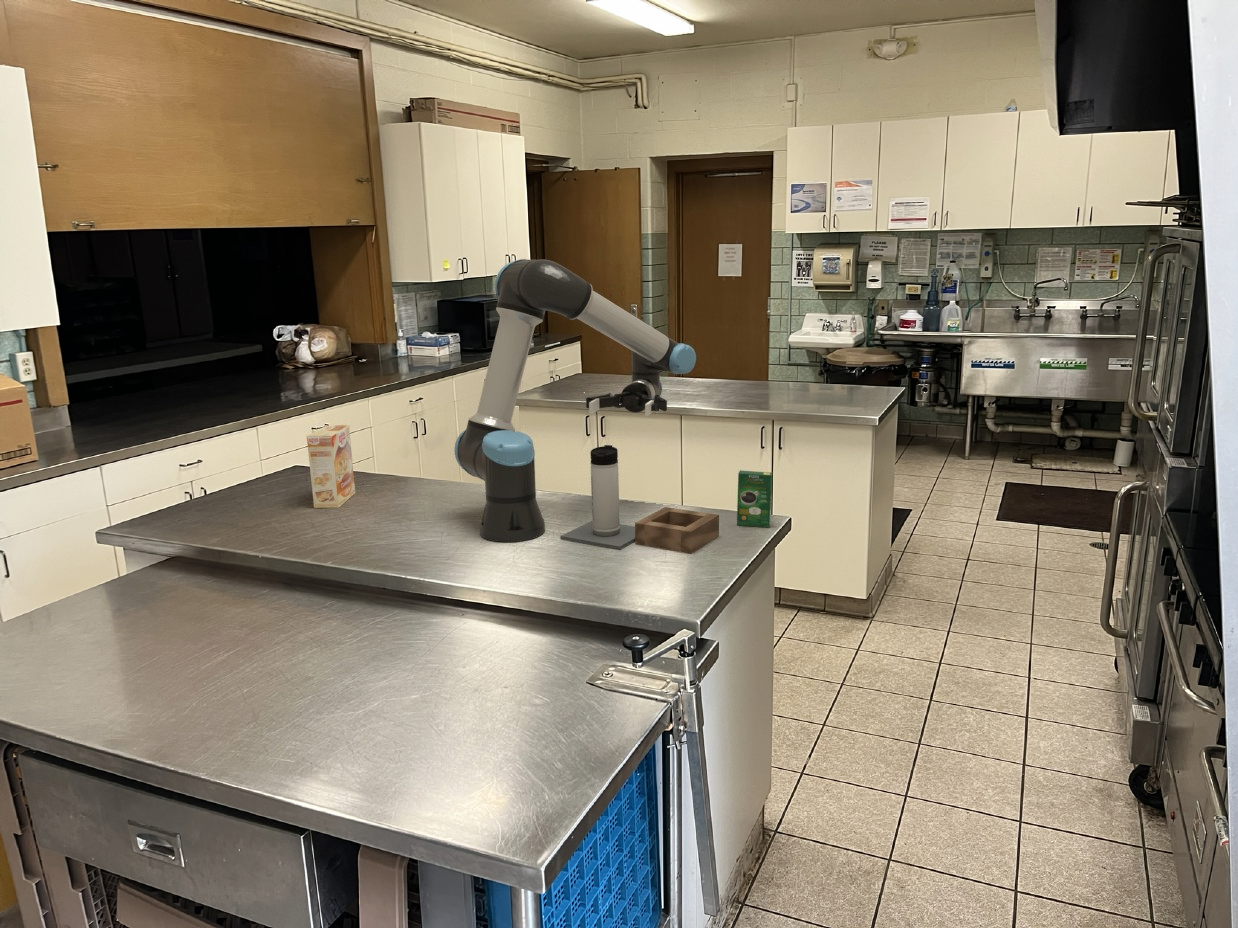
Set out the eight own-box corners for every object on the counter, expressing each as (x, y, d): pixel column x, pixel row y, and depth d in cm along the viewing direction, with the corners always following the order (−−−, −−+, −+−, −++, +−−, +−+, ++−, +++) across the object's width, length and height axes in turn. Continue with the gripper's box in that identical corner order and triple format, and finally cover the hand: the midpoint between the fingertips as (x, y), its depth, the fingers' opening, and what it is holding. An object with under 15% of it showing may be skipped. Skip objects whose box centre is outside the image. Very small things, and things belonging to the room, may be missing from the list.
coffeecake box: (339, 508, 232) (332, 435, 227) (312, 508, 232) (304, 436, 227) (356, 493, 246) (350, 424, 242) (331, 493, 247) (324, 425, 242)
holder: (635, 544, 197) (634, 522, 196) (665, 527, 209) (665, 507, 208) (691, 553, 190) (691, 531, 189) (719, 535, 202) (719, 514, 201)
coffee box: (772, 524, 209) (773, 471, 206) (770, 528, 206) (771, 474, 203) (738, 522, 211) (738, 469, 208) (736, 526, 209) (736, 472, 206)
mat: (560, 539, 202) (560, 535, 202) (593, 523, 214) (593, 519, 213) (619, 549, 194) (619, 546, 194) (651, 532, 205) (651, 529, 205)
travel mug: (623, 529, 206) (622, 445, 201) (614, 537, 200) (612, 451, 195) (598, 527, 208) (596, 444, 203) (588, 535, 202) (586, 450, 197)
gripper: (685, 412, 226) (670, 426, 206) (591, 409, 232) (568, 422, 212) (685, 383, 224) (670, 394, 204) (591, 380, 230) (567, 391, 210)
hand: (618, 409), depth 208 cm, fingers open, 13 cm apart
